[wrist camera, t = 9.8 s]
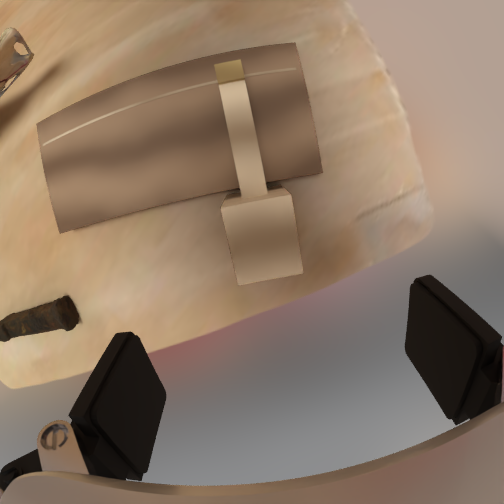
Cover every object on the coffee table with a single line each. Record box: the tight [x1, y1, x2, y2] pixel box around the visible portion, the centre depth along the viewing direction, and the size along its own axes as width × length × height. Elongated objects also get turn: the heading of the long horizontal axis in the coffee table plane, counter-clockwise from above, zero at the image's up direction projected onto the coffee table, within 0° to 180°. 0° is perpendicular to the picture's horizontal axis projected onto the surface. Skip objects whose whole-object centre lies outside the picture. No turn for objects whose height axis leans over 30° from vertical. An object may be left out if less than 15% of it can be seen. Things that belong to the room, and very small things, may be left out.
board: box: [37, 43, 323, 234], centre depth 24 cm, size 12×26×2 cm, turn 101°
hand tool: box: [0, 296, 79, 342], centre depth 29 cm, size 19×4×5 cm, turn 103°
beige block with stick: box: [214, 59, 303, 286], centre depth 23 cm, size 17×5×7 cm, turn 11°
